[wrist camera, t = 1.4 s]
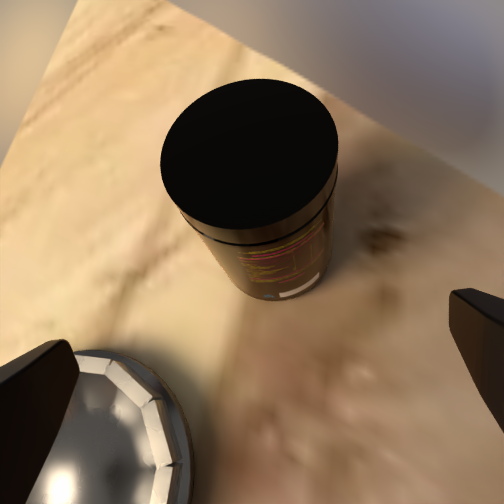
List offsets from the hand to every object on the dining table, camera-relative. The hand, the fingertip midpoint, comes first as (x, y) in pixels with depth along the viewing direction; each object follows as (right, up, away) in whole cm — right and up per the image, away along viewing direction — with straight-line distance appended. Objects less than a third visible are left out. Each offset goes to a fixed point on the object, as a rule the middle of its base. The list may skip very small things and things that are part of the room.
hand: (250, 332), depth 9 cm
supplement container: (+2, +2, +15) cm, 15 cm away
